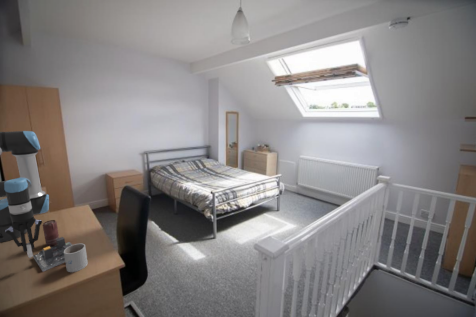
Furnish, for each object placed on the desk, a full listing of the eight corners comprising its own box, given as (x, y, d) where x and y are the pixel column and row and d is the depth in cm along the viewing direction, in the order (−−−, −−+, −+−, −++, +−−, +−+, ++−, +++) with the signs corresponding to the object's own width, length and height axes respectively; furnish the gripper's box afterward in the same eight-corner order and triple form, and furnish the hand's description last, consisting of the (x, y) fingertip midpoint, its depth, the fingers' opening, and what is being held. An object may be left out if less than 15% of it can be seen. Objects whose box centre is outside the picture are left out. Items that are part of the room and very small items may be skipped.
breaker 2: (64, 254, 116) (62, 246, 115) (70, 252, 118) (69, 243, 117) (66, 256, 114) (64, 248, 113) (72, 254, 117) (71, 245, 116)
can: (52, 247, 125) (48, 225, 122) (43, 246, 126) (39, 224, 123) (62, 241, 130) (59, 220, 128) (54, 240, 132) (50, 219, 129)
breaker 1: (57, 247, 122) (56, 239, 121) (64, 244, 125) (62, 236, 124) (59, 249, 121) (57, 241, 120) (65, 246, 123) (64, 238, 122)
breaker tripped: (44, 257, 114) (42, 248, 113) (51, 254, 116) (49, 245, 115) (45, 259, 112) (44, 250, 111) (53, 256, 114) (51, 247, 113)
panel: (33, 258, 116) (32, 254, 115) (69, 244, 128) (69, 240, 128) (42, 271, 106) (41, 267, 105) (81, 255, 118) (80, 251, 118)
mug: (89, 265, 110) (87, 248, 108) (69, 274, 104) (65, 256, 102) (83, 255, 118) (80, 238, 116) (63, 263, 112) (60, 245, 110)
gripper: (2, 218, 96) (13, 266, 100) (41, 208, 106) (49, 252, 111) (0, 214, 100) (10, 259, 105) (37, 205, 110) (45, 247, 115)
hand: (30, 255), depth 108 cm, fingers closed
